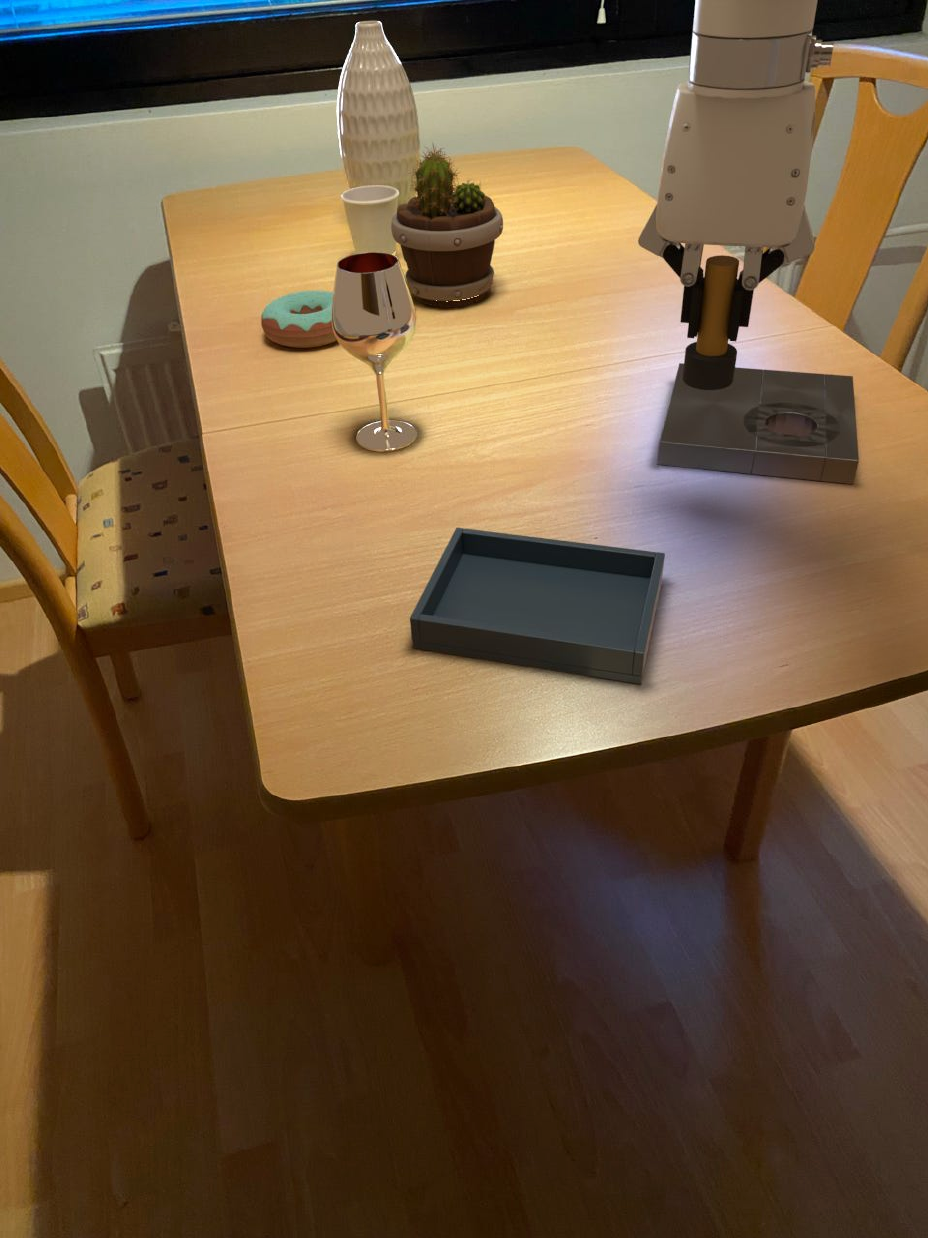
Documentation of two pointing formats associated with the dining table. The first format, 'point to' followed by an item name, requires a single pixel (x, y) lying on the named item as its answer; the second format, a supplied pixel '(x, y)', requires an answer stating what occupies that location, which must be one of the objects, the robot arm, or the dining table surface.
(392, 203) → the dixie cup
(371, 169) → the vase
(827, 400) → the drain plate
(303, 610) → the dining table surface
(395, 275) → the wineglass
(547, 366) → the dining table surface
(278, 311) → the donut
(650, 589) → the basin tray
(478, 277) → the flowerpot
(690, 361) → the plug
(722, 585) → the dining table surface
